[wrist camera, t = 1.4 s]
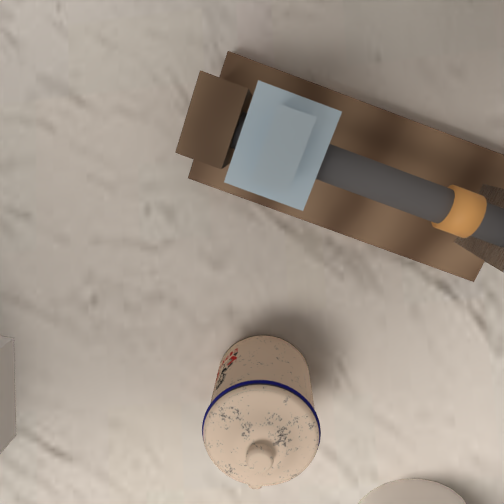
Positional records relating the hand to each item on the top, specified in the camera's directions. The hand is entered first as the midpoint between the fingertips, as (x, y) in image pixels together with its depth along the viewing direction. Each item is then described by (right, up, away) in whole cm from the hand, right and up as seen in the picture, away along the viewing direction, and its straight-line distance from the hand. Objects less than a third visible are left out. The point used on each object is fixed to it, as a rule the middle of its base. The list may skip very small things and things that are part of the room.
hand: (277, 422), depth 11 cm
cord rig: (+8, +11, +26) cm, 29 cm away
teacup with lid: (0, -9, +32) cm, 33 cm away
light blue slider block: (+1, +12, +20) cm, 23 cm away
